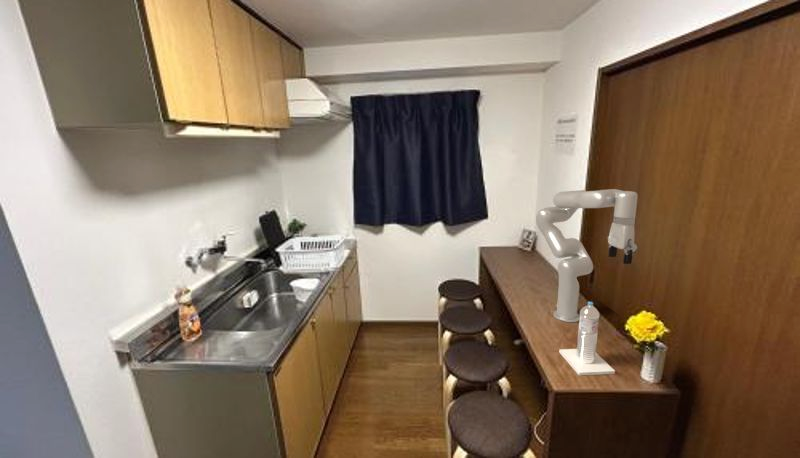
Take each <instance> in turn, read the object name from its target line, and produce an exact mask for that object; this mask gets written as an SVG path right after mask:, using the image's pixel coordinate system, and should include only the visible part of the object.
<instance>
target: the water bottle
mask: <svg viewBox="0 0 800 458" xmlns="http://www.w3.org/2000/svg"><path fill="white" fill-rule="evenodd" d="M579 315H580V320H579V321H578V322H579V323H578V331H577V343H576V349H577V351H576V357H577V359H578V360H579V361H581V362H583V363H593V362H594V361H595V355H596V353H597V344H598V343H597V342H598V333H599V332H598V331H599V330H598V329H599V319H600V312H599V311H598V309H597V308H596V307H595V306H594V302H593V301H588V302H587V305H585V306H583V307H582V308H581V309H580V310H579Z"/></svg>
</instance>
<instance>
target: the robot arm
mask: <svg viewBox="0 0 800 458" xmlns="http://www.w3.org/2000/svg"><path fill="white" fill-rule="evenodd" d="M638 197H639V196H638V193H637V192H635V191H630V190H620V189H616V188H611V189H600V190H588V191H586V190H584V189H581V190H568V191H560V192H558V193H556V194H555V195H554V196H553V198H552V202H553V204H554V206H550V207H549V206H547V207H544V208H541V209H540V210H538V212H537V213H536V217H535V220H536V221H535V222H536V226H537V228H538V230H539V231H540V233H541V234H542V236H543V237H544V239H545V241H546V243H547V245H548V247H549V249H550V250H551V253H552V254H553V255H554V257H555V258H558V259H562V260H561V261H560V262H558V265H557V273H558V290H557V291H558V292H557V303H556V304H555V307H557V308H556V310H554V311H553V315H552V316H553V317H554V318H555V319H557V320H559V321H562V322H567V323H576V322H579V321H580V313H578V306H579V297H580V296H579V295H580V284H579V281H578V279H577V278H578V277H581V276H586V275H589V274H591V273H593V270H594V265H593V260H592V259H591V257H590V255H589V254H588V252H587V250H586V248H585V247H584V245H583V243H582V242H581V241H580V240H579V239H577V238H575V237H574V238H573V237H569V238H566V237H565V236H564V234H563V233H562V231H561V230H560V228H559V227H557V226H556V225H554V224H555V223H556V224H557V223H563V222H567V221H569V220H570V219H571V218H572V216H573V215H574V214H575V213H576V212H577V211H578V210H579V209H601V208H611V207H612V208H613V207H614V210H613V212H614V213H613V220H612V223H611V226H610V228H609V229H610V230H609V235H608V236H607V244H608V257H609V258H616V257H617V253H618V249H619V250H623V252H624V254H623V260H622V264H624V265H629V264H632V261H633V255H634V254H635V253H636V251H637V249H638V246H637V244H636V243H635V221H636V213H637V205H638Z"/></svg>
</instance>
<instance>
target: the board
mask: <svg viewBox="0 0 800 458" xmlns="http://www.w3.org/2000/svg"><path fill="white" fill-rule="evenodd" d="M576 351H577V348H564V349H563V348H562V349H560V348H559V351H558V352H559V354H560V355H561V356H562V358H564V360H565V361H566V362H567V363H568V365H570V367H571V368H572V369H573V370H574V372H575V373H576V374H577V375H578V376H597V375H615V374H616V370H615V369H614V368H613V367H612V366H610V365H609V364H608V362H607V361H606V360H605V359H603V357H601V356H600V355H599V354H598V353H597V352H596V355H595V361H594V362H593V363H583V362H581V361H579V360H578V359H577V357H576Z"/></svg>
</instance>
